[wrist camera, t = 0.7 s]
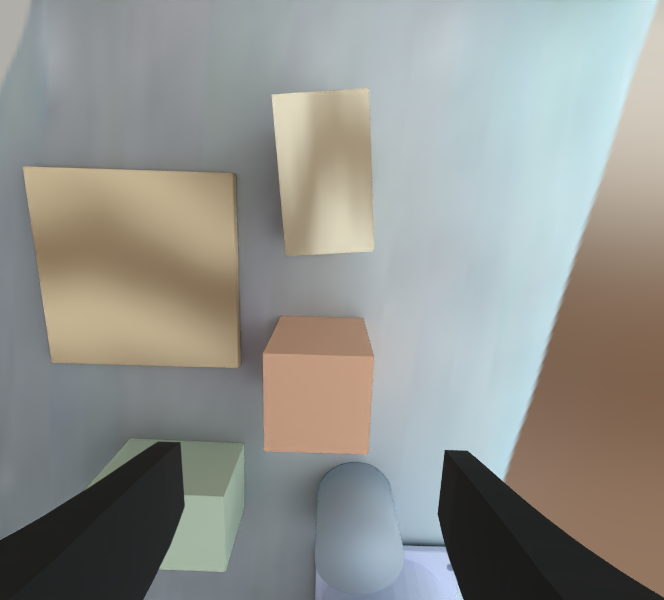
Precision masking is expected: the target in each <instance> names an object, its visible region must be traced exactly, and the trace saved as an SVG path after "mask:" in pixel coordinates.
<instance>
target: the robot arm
mask: <svg viewBox="0 0 664 600" xmlns="http://www.w3.org/2000/svg"><path fill="white" fill-rule="evenodd" d="M184 507H185V500H184V485H183V471H182V456H181V442H160V441H158V442H157V443H155V444H153V445H152V446H150V447H148V448H147V449H145V450H144V451H142V452H141V453H139V454H138V455H136V456H135V457H133V458H132V459H130V460H129V461H128V462H126V463H125V464H123V465H122V466H120V467H119V468H117V469H116V470H114V471H113V472H111V473H110V474H108V475H107V476H105V477H104V478H102V479H101V480H99V481H98V482H97V483H95V484H94V485H92V486H91V487H89V488H88V489H86V490H84V491H83V492H81V493H80V494H78V495H76V496H75V497H73V498H72V499H70V500H68V501H67V502H65V503H64V504H62V505H60V506H59V507H57V508H56V509H54V510H52V511H51V512H49V513H48V514H46V515H44V516H43V517H41V518H39V519H38V520H36V521H34V522H32V523H31V524H29V525H27V526H25V527H24V528H22V529H20V530H18V531H16V532H15V533H13V534H11V535H9V536H7V537H5V538H3V539H2V540H0V600H143V599H144V597H145V595H146V593H147V591H148V589H149V587H150V586H151V584H152V582H153V580H154V578H155V576H156V574H157V572H158V570H159V568H160V566H161V564H162V562H163V560H164V558H165V556H166V554H167V552H168V549H169V547H170V545H171V543H172V540H173V538H174V535H175V532H176V530H177V527H178V524H179V522H180V519H181V516H182V513H183V510H184ZM438 517H439V521H440V526H441V530H442V535H443V539H444V543H445V547H434V546H403V550H404V565H403V568H402V571H401V573H400V574H399V576H398V577H397V578H396V580H395V581H394V582H393V583H391V584H390V585H389V586H387V587H386V588H384V589H382V590H380V591H377V592H374V593H370V594H364V595H355V594H348V593H344V592H341V591H338V590H336V589H334V588H332V587H331V586H329V585H328V584H327V583H326V582H325V581H324V580H323V579H322V578H321V577H320V575H319V573H318V571H317V569H316V590H315V600H456V594H457V586H458V585H459V588H460V591H461V594H462V597H463V599H464V600H664V598H663V597H662V596H660V595H658V594H657V593H655V592H654V591H652V590H650V589H649V588H647V587H645V586H644V585H642V584H640V583H639V582H637V581H635V580H634V579H632V578H631V577H629V576H627V575H626V574H624V573H623V572H621V571H620V570H618V569H617V568H615V567H614V566H612V565H611V564H609V563H608V562H606V561H605V560H603V559H602V558H600V557H599V556H597V555H596V554H595V553H593V552H592V551H590V550H588V549H587V548H586V547H584V546H583V545H582V544H580V543H579V542H577V541H576V540H575V539H573V538H572V537H571V536H569V535H568V534H567V533H565V532H564V531H563V530H562V529H560V528H559V527H558V526H556V525H555V524H553V523H552V522H551V521H550V520H548V519H547V518H546V517H544V516H543V515H542V514H541V513H540V512H538V511H537V510H536V509H535V508H533V507H532V506H531V505H530V504H528V503H527V502H526V501H525V500H524V499H522V498H521V497H520V496H519V495H518V494H517V493H516V492H514V491H513V490H512V489H511V488H510V487H509V486H507V485H506V484H505V483H504V482H503V481H502V480H501V479H499V478H498V477H497V476H496V475H495V474H494V473H493V472H491V471H490V470H489V469H488V468H487V467H486V466H485V465H484V464H482V463H481V462H480V461H479V460H478V459H477V458H476V457H474V456H473V455H472V454H471V453H469V452H468V451H458V450H445V454H444V463H443V471H442V480H441V489H440V498H439V507H438ZM448 564H450V565H448Z"/></svg>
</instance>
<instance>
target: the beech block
mask: <svg viewBox="0 0 664 600" xmlns="http://www.w3.org/2000/svg"><path fill="white" fill-rule="evenodd" d="M272 105H273V116H274V128H275V139H276V150H277V162H278V173H279V185H280V196H281V208H282V219H283V230H284V242H285V253H286V256H300V255H317V254H334V253H351V252H368V251H374V223H373V193H372V164H371V135H370V105H369V88H362V89H347V90H332V91H317V92H302V93H288V94H273V95H272Z"/></svg>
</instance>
